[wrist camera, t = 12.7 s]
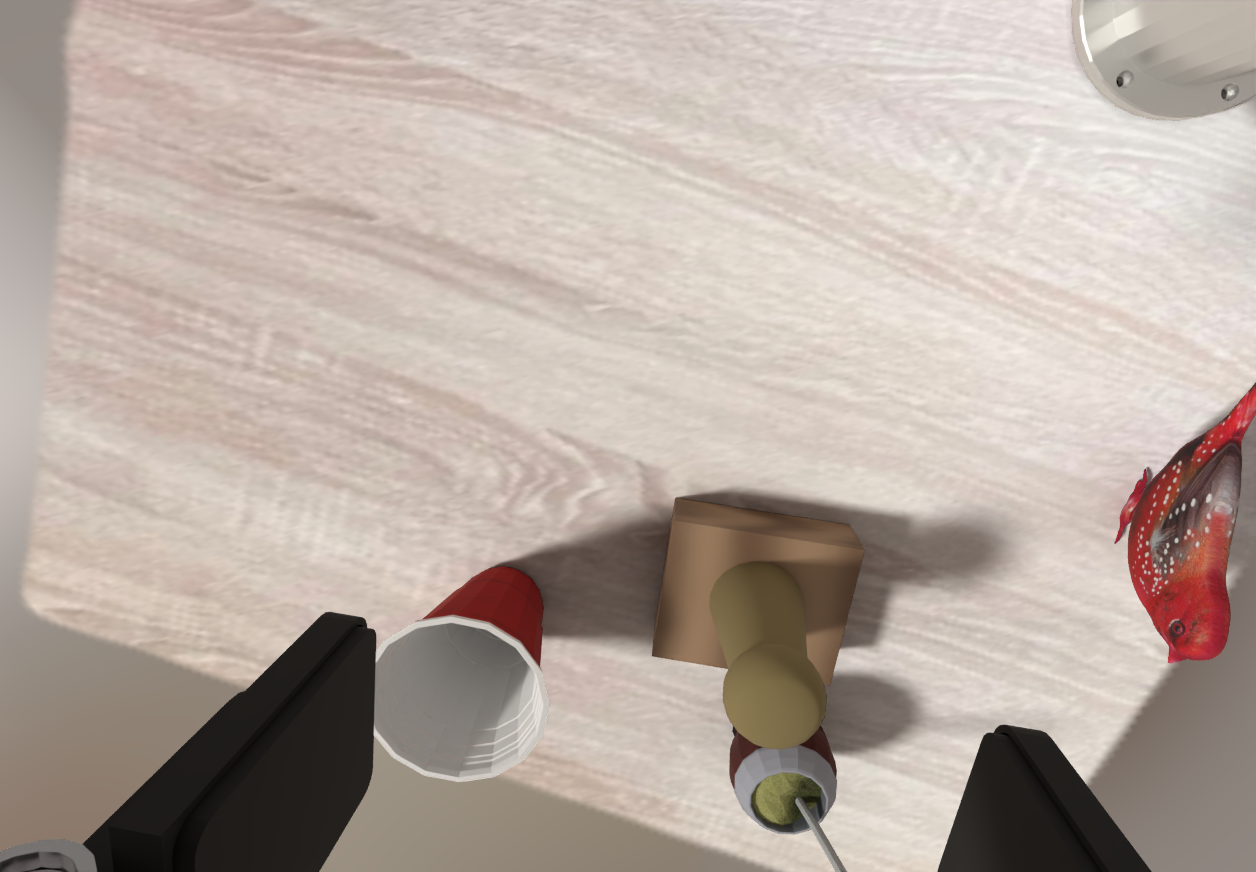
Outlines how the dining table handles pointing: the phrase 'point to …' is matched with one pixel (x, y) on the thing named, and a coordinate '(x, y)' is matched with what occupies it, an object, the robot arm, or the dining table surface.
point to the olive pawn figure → (766, 656)
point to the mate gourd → (786, 786)
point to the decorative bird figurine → (1189, 537)
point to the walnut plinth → (738, 535)
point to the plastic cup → (466, 681)
